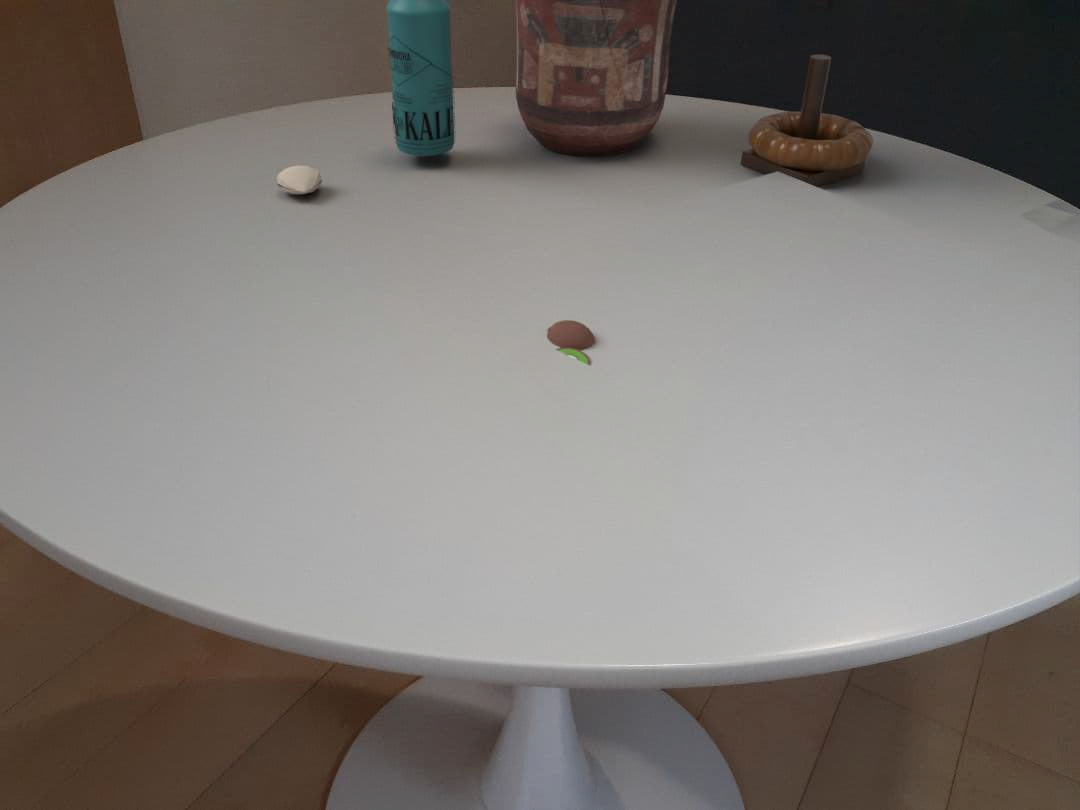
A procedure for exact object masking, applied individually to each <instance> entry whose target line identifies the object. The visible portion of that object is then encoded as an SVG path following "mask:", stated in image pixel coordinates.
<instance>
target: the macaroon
mask: <svg viewBox="0 0 1080 810" xmlns="http://www.w3.org/2000/svg"><path fill="white" fill-rule="evenodd" d="M322 177H323V176H322V175H321V173H320V170H318V169H316V168H313V167H311V166H308V165H293V166H288V167H286V168H285V169H283V170H282V171H281V172H280V173H278V174H277V176H276V182H277V186H278V187H279V189H280V191H282V192H283V193H284V192H285V193H288V194H290V195H306V194H309V193H310V194H311V193H313V192H315V191H316V190H317V189H319V188H320V187H321V185H322V183H323V178H322Z"/></svg>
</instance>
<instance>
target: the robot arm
mask: <svg viewBox="0 0 1080 810" xmlns="http://www.w3.org/2000/svg"><path fill="white" fill-rule="evenodd" d="M834 1H835V0H805V1H804V5H806V6H810V7H813V8H819V9H823V10H830V9H833V6H834Z"/></svg>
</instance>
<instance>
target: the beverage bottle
mask: <svg viewBox="0 0 1080 810" xmlns="http://www.w3.org/2000/svg"><path fill="white" fill-rule="evenodd" d="M386 13H387V26H388V41H387V43H388V44H389V45H388V46H387V52H388V56H389V58H388V63H389V64H390V65H389V66H388V67H389V68H388V69H389V71H390V72H389V75H390V76H391V77H390V78H391V87H392V88H391V95H392V97H391V99H392V101H391V102H392V103H391V110H392V123H393V124H392V125H393V127H392V128H394V132H393V133H394V135H393V136H394V137H393V139H394V143H395V144H396V146H397V149H398V150H399V152H401V153H404V154H406V155H411V156H418V157H428V156H437V155H442V154H446V153H448V152H450V151H451V150H453V148H454V145H455V142H456V140H457V139H456V138H455V137H456V119H455V116H456V113H455V112H454V109H456V107H455V105H456V103H455V101H456V100H455V96H454V93H455V90H454V84H455V81H454V80H455V79H454V77H453V72H452V71H453V70H452V69H453V68H452V67H453V66H452V43H451V40H452V39H451V15H450V13H451V6H450V4H449V3H448V2H447V1H446V0H389V2H388V3H387V5H386Z"/></svg>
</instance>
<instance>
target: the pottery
mask: <svg viewBox="0 0 1080 810" xmlns="http://www.w3.org/2000/svg"><path fill="white" fill-rule="evenodd" d="M677 1H678V0H514V8H515V39H516V40H515V41H516V43H515V44H516V45H515V46H516V48H515V49H516V51H515V82H514V83H515V84H514V85H515V86H514V87H515V100H516V104H517V107H518V111H519V114H520V116H521V119H522V121H523V122H524V125H525V127H526V130H527V131H528V132H529V134H531V136H532V137H533V138H534V139H535V140H536V141H537V142H538V143H539V142H540V143H541V144H540V143H539V144H540V145H541V146H543V145H544V146H545V148H546V147H548V148H550V149H549V150H551V149H552V150H551V151H553V150H554V151H553V152H556V151H559V152H558V153H561V152H563V153H562V154H565V153H566V154H565V155H569V154H571V155H570V156H582V157H598V156H599V157H604V156H605V157H606V156H610V155H616V154H621V153H624V152H626V151H627V152H628V151H629V150H632V149H633V148H635V146H637V145H638V144H639V143H640V142H641V141H642V140H644V139H645V137H647V136H648V135H649V134H650V133H652V131H653V129H654V127H655V126H656V124H657V122H658V121H659V119H660V117H661V115H662V112H663V110H664V105H665V100H666V93H667V88H668V78H669V77H668V76H669V75H668V74H669V58H670V45H671V44H670V43H671V38H672V30H673V23H674V16H675V10H676V5H677ZM544 146H543V147H544ZM548 148H547V149H548Z"/></svg>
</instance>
